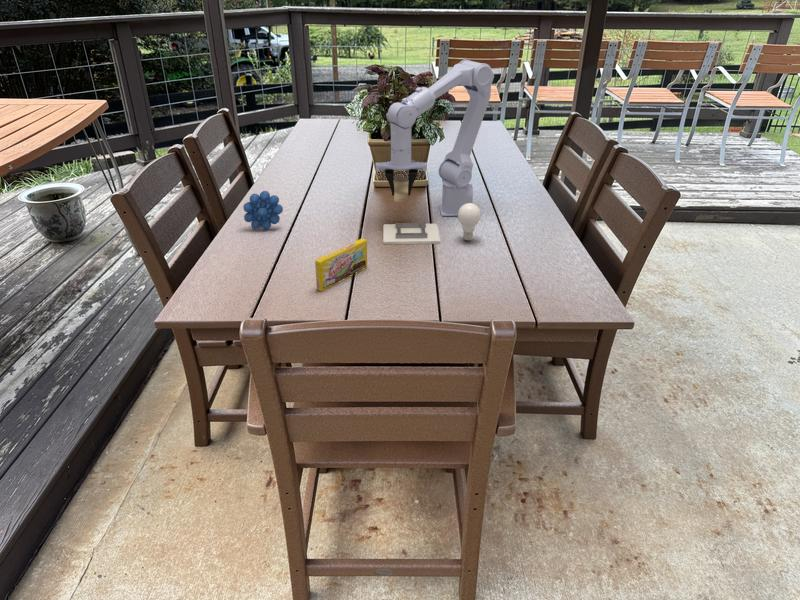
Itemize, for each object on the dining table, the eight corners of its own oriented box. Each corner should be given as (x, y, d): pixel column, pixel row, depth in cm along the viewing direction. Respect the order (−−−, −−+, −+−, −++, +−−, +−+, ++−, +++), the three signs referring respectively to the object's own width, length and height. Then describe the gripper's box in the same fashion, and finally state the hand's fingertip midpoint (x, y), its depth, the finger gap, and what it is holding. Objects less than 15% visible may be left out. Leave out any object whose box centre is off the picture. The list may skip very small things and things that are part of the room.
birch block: (407, 196, 163) (407, 177, 159) (408, 201, 159) (408, 181, 156) (394, 196, 163) (394, 177, 159) (394, 201, 159) (394, 181, 156)
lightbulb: (481, 237, 157) (483, 201, 151) (476, 246, 152) (479, 209, 146) (459, 234, 159) (461, 198, 153) (454, 243, 154) (456, 206, 148)
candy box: (322, 292, 131) (319, 262, 127) (316, 289, 132) (313, 259, 128) (368, 268, 142) (367, 239, 137) (362, 265, 143) (361, 237, 138)
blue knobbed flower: (287, 223, 166) (283, 185, 159) (284, 232, 160) (279, 193, 154) (249, 223, 166) (243, 185, 159) (244, 233, 160) (237, 194, 153)
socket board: (436, 226, 164) (437, 219, 163) (440, 243, 153) (440, 237, 152) (383, 226, 163) (383, 220, 162) (383, 244, 153) (383, 237, 152)
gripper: (426, 144, 156) (425, 189, 163) (375, 144, 156) (376, 189, 163) (427, 151, 150) (426, 198, 157) (374, 151, 150) (376, 198, 157)
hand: (401, 194), depth 160 cm, fingers closed on birch block, 4 cm apart
